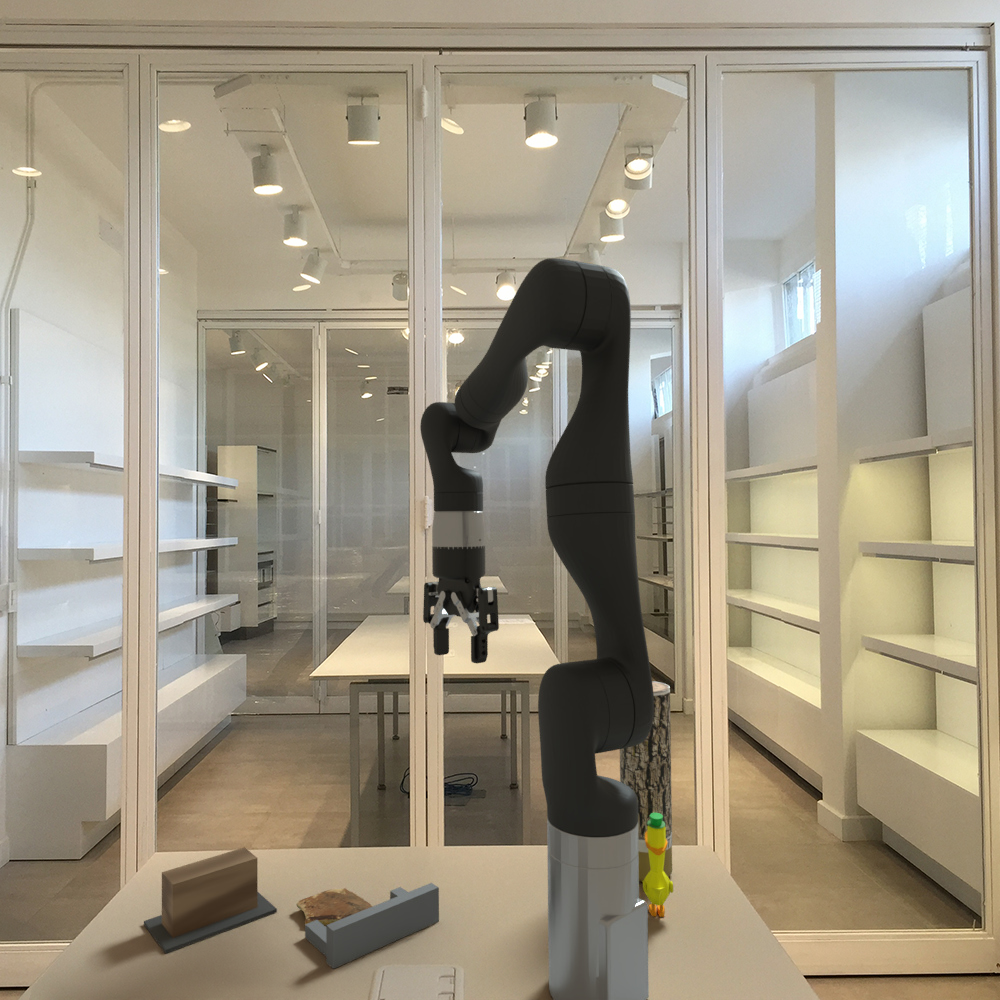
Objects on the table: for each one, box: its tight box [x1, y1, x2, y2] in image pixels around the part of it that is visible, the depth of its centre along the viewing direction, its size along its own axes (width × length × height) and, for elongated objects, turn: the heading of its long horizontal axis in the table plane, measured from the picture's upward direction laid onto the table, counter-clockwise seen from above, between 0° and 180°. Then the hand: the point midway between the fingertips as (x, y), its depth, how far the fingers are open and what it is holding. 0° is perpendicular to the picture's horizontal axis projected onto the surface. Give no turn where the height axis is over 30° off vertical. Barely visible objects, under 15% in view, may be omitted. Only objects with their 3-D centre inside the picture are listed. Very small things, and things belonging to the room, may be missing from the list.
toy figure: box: [642, 812, 674, 918], centre depth 91 cm, size 7×4×12 cm, turn 175°
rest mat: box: [143, 891, 278, 954], centre depth 90 cm, size 8×13×1 cm, turn 131°
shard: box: [296, 887, 374, 927], centre depth 90 cm, size 11×8×2 cm
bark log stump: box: [619, 680, 673, 883], centre depth 101 cm, size 7×7×25 cm
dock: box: [304, 882, 440, 969], centre depth 88 cm, size 8×14×4 cm, turn 131°
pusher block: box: [161, 847, 259, 938], centre depth 90 cm, size 4×10×6 cm, turn 131°
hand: (459, 658), depth 106 cm, fingers open, 8 cm apart
